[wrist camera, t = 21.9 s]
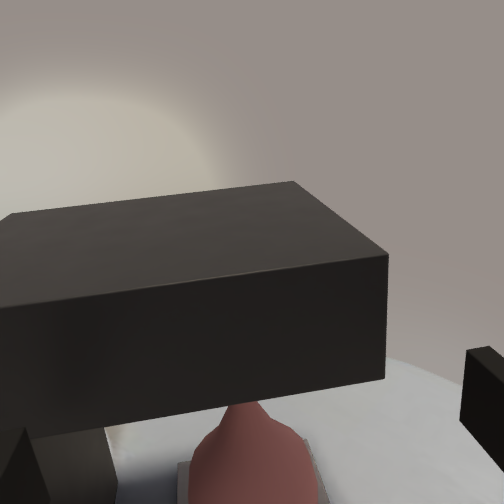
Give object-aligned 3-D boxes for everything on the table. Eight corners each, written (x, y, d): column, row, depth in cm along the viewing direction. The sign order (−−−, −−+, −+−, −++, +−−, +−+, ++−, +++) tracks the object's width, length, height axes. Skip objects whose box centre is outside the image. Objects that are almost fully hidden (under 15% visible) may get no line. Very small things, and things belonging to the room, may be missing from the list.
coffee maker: (313, 445, 34) (302, 179, 26) (386, 641, 21) (404, 251, 14) (90, 486, 32) (10, 213, 24) (33, 727, 20) (-162, 329, 12)
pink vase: (218, 626, 22) (185, 446, 18) (182, 505, 29) (152, 353, 24) (345, 558, 25) (343, 387, 20) (285, 462, 31) (274, 318, 27)
